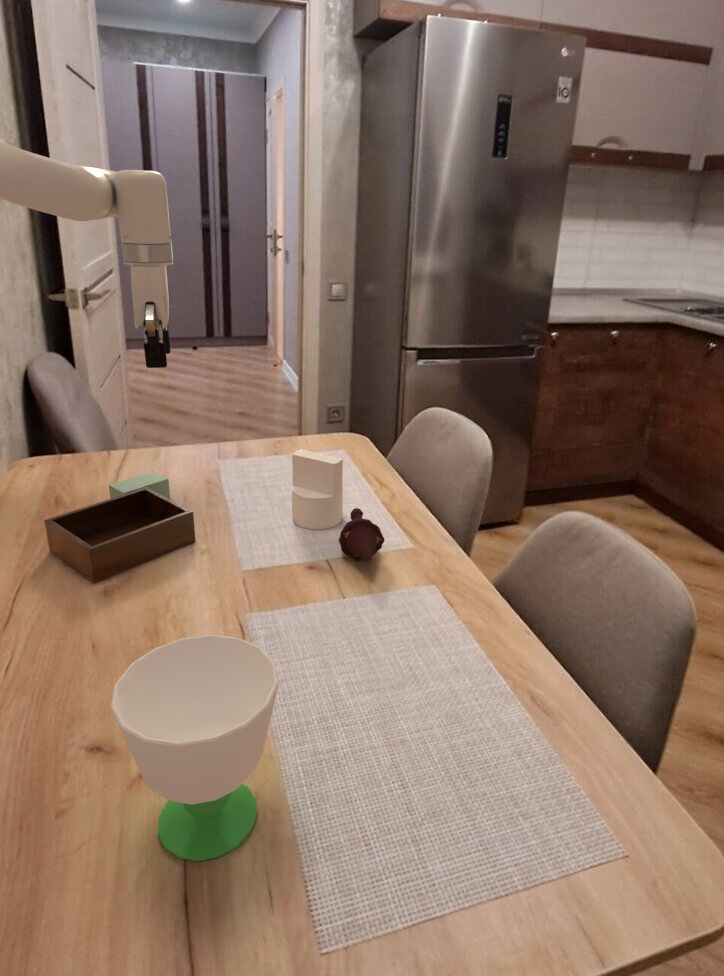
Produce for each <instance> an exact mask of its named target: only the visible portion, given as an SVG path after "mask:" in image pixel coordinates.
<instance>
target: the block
mask: <svg viewBox="0 0 724 976" xmlns="http://www.w3.org/2000/svg"><path fill="white" fill-rule="evenodd" d="M169 482H170V481H169V478H168V477H165V476H163V475H161V474H159V473H157V472H155V471H150V472H147V473H144V474H141V475H137V476H133V477H131V478H128V479H124V480H121V481H117V482H114V483H111V484H109V485H108V490H109V499H112V498H115V497H118V496H121V495H124V494H127V493H130V492H133V491H136V490H140V489H143V488H146V487H147V488H149V489H150V490H152V491H154V492H156V493H158V494H160V495H162V496H164V497H166V498H168V499H171V494H170V483H169Z"/></svg>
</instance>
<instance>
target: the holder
mask: <svg viewBox="0 0 724 976" xmlns="http://www.w3.org/2000/svg"><path fill="white" fill-rule="evenodd" d="M194 517H195V516H194V511H193V510H191V509H189V508H187V507H185V506H184V505H182V504H179V503H177V502H176V501H175V500H172V499H171V498H169V499H168V498H166V497H164V496H162V495H160V494H158V493H156V492H154V491H152V490H150V489H149V488H147V487H146V488H143V489H140V490H136V491H133V492H130V493H127V494H124V495H121V496H118V497H115V498H112V499H111V498H109V499H106V500H103V501H99V502H96V503H94V504H90V505H87V506H84V507H81V508H77V509H75V510H71V511H68V512H66V513H62V514H59V515H56V516H53V517H50V518H47V519H44V526H45V532H46V537H47V542H48V549H49V552H50V553H51V554H52V555H54V556H55V557H57V558H58V559H60V560H61V561H62V562H64V563H65V564H66V565H67V566H70V567H71V568H72V569H74V570H75V571H76V572H78V573H79V574H80V575H82V576H83V577H85V578H86V579H87V580H89V581H90V582H92V583H93V584H96V583H98V582H101V581H103V580H105V579H108V578H110V577H113V576H115V575H118V574H120V573H123V572H124V571H125V572H126V571H128V570H130V569H132V568H135V567H137V566H140V565H142V564H144V563H147V562H150V561H151V560H154V559H157V558H159V557H162V556H164V555H166V554H168V553H171V552H173V551H176V550H179V549H181V548H183V547H186V546H188V545H191V544H193V543H195V542H196V530H195V518H194Z"/></svg>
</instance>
